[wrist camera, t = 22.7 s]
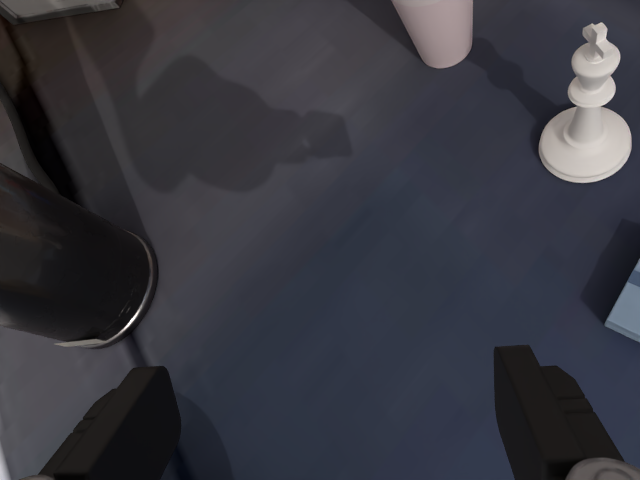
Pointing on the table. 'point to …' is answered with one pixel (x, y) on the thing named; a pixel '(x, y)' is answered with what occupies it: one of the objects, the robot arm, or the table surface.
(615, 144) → the chess piece
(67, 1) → the book
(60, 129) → the table surface
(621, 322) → the grooved slab
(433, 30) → the smoothie
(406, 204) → the table surface
